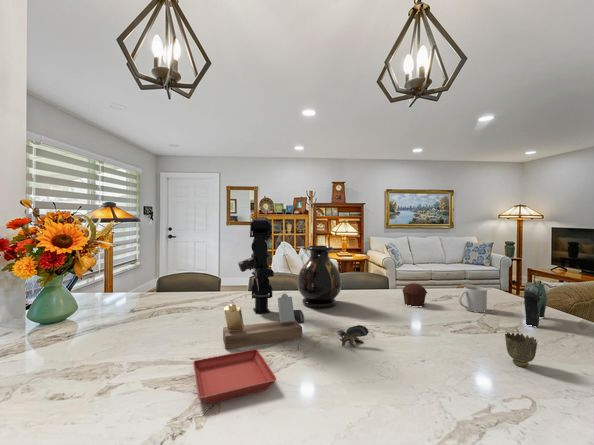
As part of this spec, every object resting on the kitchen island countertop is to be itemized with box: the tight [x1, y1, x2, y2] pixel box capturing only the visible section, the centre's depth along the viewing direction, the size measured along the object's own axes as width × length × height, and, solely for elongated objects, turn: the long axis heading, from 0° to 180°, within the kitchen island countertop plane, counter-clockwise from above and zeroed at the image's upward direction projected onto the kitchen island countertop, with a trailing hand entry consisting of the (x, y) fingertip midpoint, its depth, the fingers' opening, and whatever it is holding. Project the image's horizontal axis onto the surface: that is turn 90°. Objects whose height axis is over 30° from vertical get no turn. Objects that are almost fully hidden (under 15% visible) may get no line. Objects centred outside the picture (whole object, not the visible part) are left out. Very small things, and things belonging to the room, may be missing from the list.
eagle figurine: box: [336, 324, 370, 348], centre depth 97 cm, size 8×7×9 cm
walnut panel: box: [222, 320, 303, 350], centre depth 101 cm, size 8×26×4 cm, turn 109°
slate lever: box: [277, 293, 295, 323], centre depth 106 cm, size 2×5×10 cm, turn 109°
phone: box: [293, 309, 305, 324], centre depth 124 cm, size 8×1×15 cm
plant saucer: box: [192, 348, 277, 405], centre depth 75 cm, size 18×18×3 cm
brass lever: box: [223, 303, 245, 331], centre depth 96 cm, size 2×5×10 cm, turn 82°
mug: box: [458, 285, 488, 313], centre depth 135 cm, size 11×10×10 cm
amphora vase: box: [296, 245, 343, 309], centre depth 143 cm, size 22×22×28 cm
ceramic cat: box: [523, 273, 548, 328], centre depth 120 cm, size 20×6×20 cm, turn 131°
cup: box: [504, 332, 539, 368], centre depth 84 cm, size 8×7×8 cm
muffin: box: [402, 282, 428, 307], centre depth 143 cm, size 12×11×10 cm
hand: (260, 291), depth 115 cm, fingers closed
